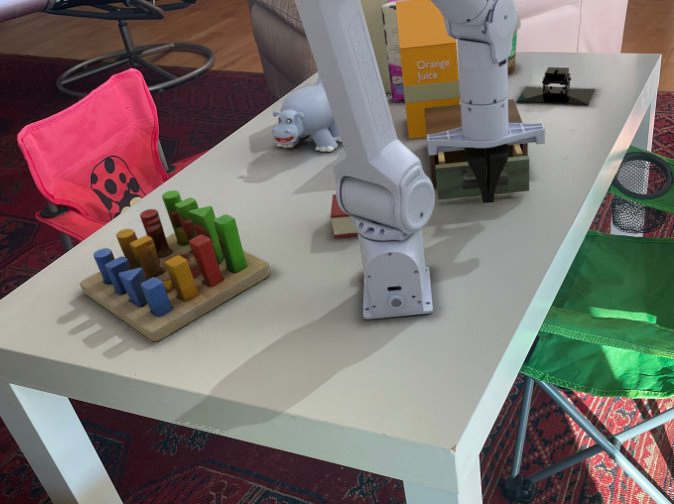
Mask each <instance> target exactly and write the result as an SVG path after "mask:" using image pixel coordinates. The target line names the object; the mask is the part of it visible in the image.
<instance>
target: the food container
mask: <svg viewBox="0 0 674 504" xmlns="http://www.w3.org/2000/svg"><path fill="white" fill-rule="evenodd" d="M521 27H522V23H521V17H520V15H519V14H518V17H517V24H516V27H515V31H514V34H513V38H512V50H511V55H510V56H509V57H508V76H510V75H512V74H513V73H515V70H516V55H517V40H518V38H517V37H518V30H519V29H521Z"/></svg>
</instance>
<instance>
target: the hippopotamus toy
mask: <svg viewBox="0 0 674 504" xmlns="http://www.w3.org/2000/svg"><path fill="white" fill-rule="evenodd" d="M315 73H316V74H318V77H317V80H316V85H308V86H305V87H301V88H299V89H296V90H294V91H293V92H291V93H290V94H289V95H288V96H286V97H285V99H284V101H283V102H282V104H281V106H280V111H279V110H276V109H275V110H273V111H272V116H273V117H274V118H276V117H278V118H277V122H278V124H276V125H275V126H274V127H273V128H272V129H271V130H272V133H271V135H272V136H273V140H274V142H275V143H277V144H276V147H278V148H283V149H289V148H290V149H292V148H294V147H296V146H297V145H298V144H299V143H300V140H301V139H306V138H307V137H308V136H309V137H311V139H312V140H313V142H314V143H315V145H316V146H315V149H314V150H315V151H319V152H321V153H325V152H327V153H331V152H333V151H334V150H335V149H337V148H338V147H339V144H338V142H339V143H342V140H341V137H340V134H339V131H338V128H337V125H336V122H335V119H334V116H333V114H332V111H331V108H330V105H329V102H328V99H327V96H326V93H325V90H324V87H323V84H322V81H321V78H320V75H319V72H318V71H315Z"/></svg>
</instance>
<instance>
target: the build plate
mask: <svg viewBox="0 0 674 504" xmlns="http://www.w3.org/2000/svg"><path fill="white" fill-rule="evenodd" d="M571 81H572V77H571V73H570V67H557V66H556V67H553V66H548V67H547V69H545V72H544V76H543V77H542V81H541V84H542V86H525V88H524V89H523V91H522V92H521V94H520V95H519V97H518V98H517V100H516V103H517V104H534V105H559V106H581V107H588V106H589V105H590V103H591V101H592V99H593V97H594V94H595V92H596V89H595V88H584V87H583V88H582V87H581V88H580V87H571ZM552 84H553V85H560V86H553V85H552Z"/></svg>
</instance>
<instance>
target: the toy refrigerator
mask: <svg viewBox="0 0 674 504" xmlns="http://www.w3.org/2000/svg"><path fill="white" fill-rule="evenodd" d="M387 1H389V0H360V3H361V6H362V10H363V14H364V17H365V21H366V25H367V28H368V32H369V36H370V39H371V43H372V47H373V50H374V54H375V58H376V61H377V65H378V69H379V72H380V76H381V80H382V84H383V87H384V91H385V94H391V84H390V75H389V67H388V59H387V51H386V42H385V34H384V26H383V18H382V9H381V7H382V6H383V5H384V4H385V3H386V2H387Z"/></svg>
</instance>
